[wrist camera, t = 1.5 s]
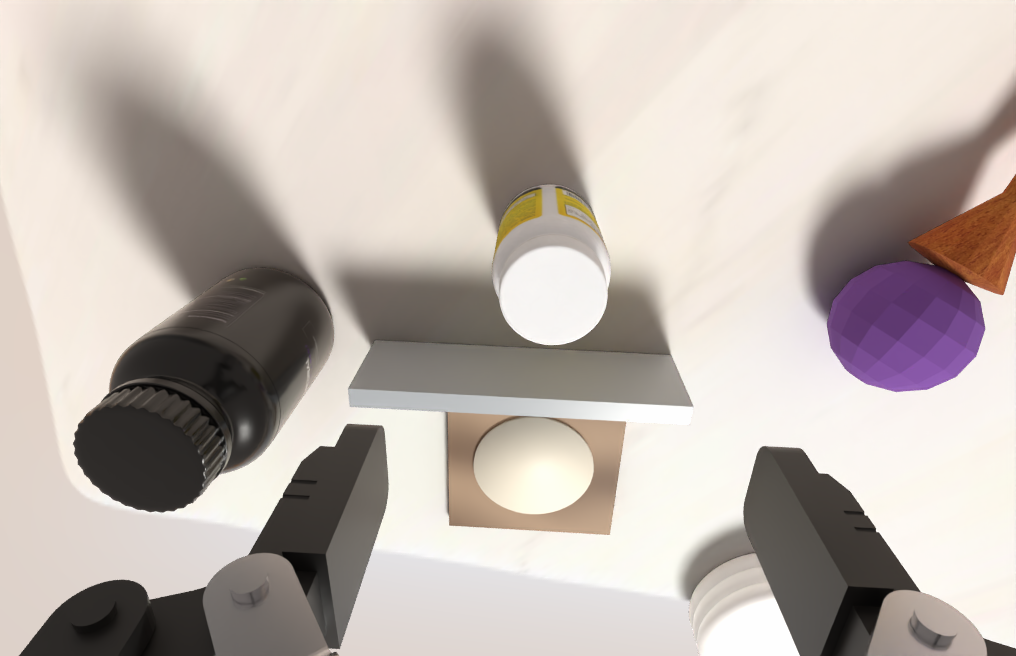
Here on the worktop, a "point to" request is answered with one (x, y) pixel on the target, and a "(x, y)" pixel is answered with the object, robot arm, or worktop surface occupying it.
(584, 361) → the low wall
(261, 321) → the supplement bottle
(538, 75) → the worktop surface
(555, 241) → the supplement bottle
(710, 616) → the coaster
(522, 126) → the worktop surface
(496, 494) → the walnut board
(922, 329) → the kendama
